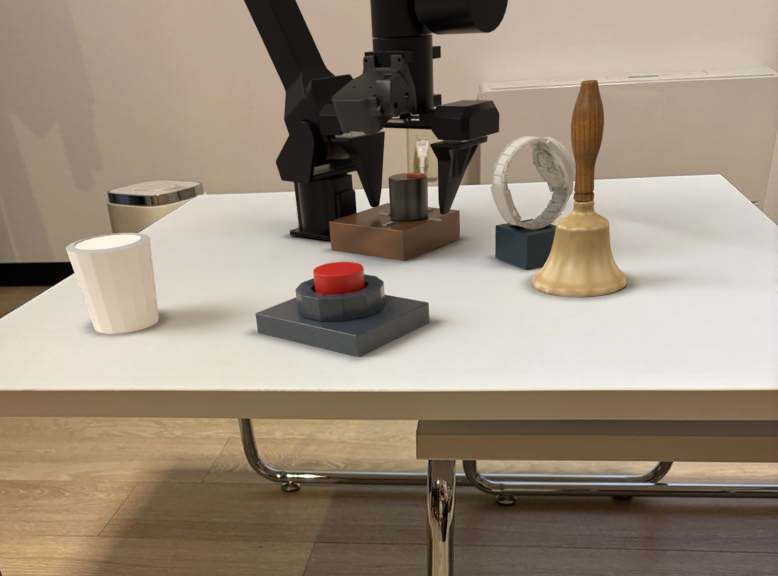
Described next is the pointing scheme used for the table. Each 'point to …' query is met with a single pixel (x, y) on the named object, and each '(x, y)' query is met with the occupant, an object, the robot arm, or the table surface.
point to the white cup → (116, 281)
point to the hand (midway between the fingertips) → (408, 210)
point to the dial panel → (393, 233)
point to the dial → (408, 196)
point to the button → (339, 278)
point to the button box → (343, 318)
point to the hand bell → (582, 217)
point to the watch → (535, 236)
